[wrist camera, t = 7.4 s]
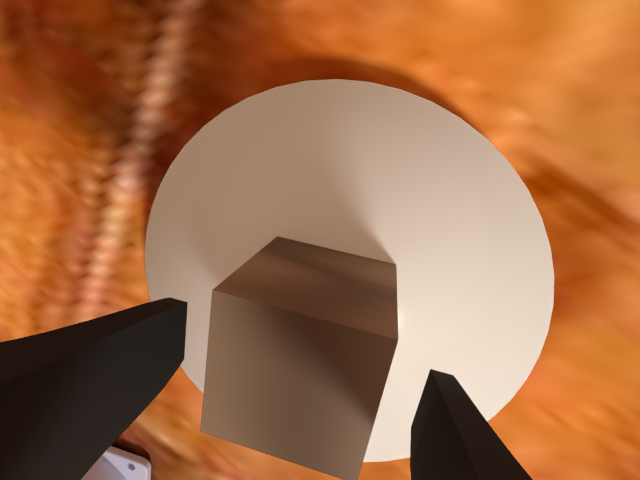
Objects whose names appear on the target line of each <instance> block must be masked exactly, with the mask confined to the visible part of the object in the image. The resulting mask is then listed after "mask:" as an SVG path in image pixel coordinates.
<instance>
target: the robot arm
mask: <svg viewBox="0 0 640 480" xmlns="http://www.w3.org/2000/svg"><path fill="white" fill-rule="evenodd" d="M187 305H188V302H185V301H181V300H177V299H174V298H170V297H169V298H164V299H160V300H156V301H152V302H149V303H145V304H142V305H138V306H135V307H132V308H129V309H125V310H122V311H119V312H116V313H112V314H109V315H106V316H102V317H99V318H96V319H92V320H89V321H85V322H82V323H78V324H74V325H71V326H67V327H63V328H60V329H56V330H52V331H49V332H45V333H41V334H37V335H32V336H28V337H24V338H19V339H15V340H10V341H5V342H0V480H151V464H150V462H149V461H148V460H147V459H146V458H144V457H141V456H138V455H135V454H132V453H129V452H127V451H124V450H121V449H118V448H115V447H113V446H111V445H112V444H113V443H114V442H115V441H116V440H117V438H118V437H119V436H120V435H121V434H122V433H123V432H124V431H125V430H126V429H127V428H128V427H129V426H130V424H131V423H132V422H133V421H134V420H135V419H136V418H137V417H138V416H139V415H140V414H141V413H142V412H143V410H144V409H145V408H146V407H147V406H148V405H149V404H150V403H151V402H152V401H153V399H154V398H155V397H156V396H157V395H158V394H159V393H160V392H161V391H162V389H163V388H164V387H165V386H166V384H167V383H168V381H169V380H170V379H171V377H172V376H173V375H174V373H175V372H176V370H177V369H178V367H179V366H180V365H181V363H182V362H183V360H184V355H185V338H186V322H187ZM410 469H411V480H532V478H531V477H530V476H529V475H528V474H527V472H526V471H525V470H524V469H523V468H522V466H521V465H520V464H519V463H518V461H517V460H516V459H515V458H514V456H513V455H512V454H511V453H510V451H509V450H508V449H507V448H506V446H505V445H504V444H503V442H502V441H501V440H500V438H499V437H498V436H497V434H496V433H495V432H494V430H493V429H492V428H491V426H490V425H489V424H488V422H487V421H486V420H485V418H484V417H483V415H482V414H481V413H480V411H479V410H478V408H477V407H476V406H475V404H474V403H473V401H472V400H471V399H470V397H469V396H468V394H467V393H466V392H465V390H464V389H463V387H462V386H461V385H460V383H459V382H458V381H457V379H456V378H455V377H454V375H451V374H447V373H444V372H440V371H436V370H433V369H430V371H429V374H428V377H427V380H426V383H425V386H424V389H423V392H422V395H421V398H420V401H419V404H418V407H417V410H416V413H415V416H414V419H413V422H412V425H411V443H410Z"/></svg>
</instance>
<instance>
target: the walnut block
mask: <svg viewBox="0 0 640 480" xmlns="http://www.w3.org/2000/svg"><path fill="white" fill-rule="evenodd" d="M397 343H398V305H397V269H396V264H393V263H388V262H384V261H380V260H376V259H371V258H367V257H363V256H359V255H355V254H350V253H346V252H342V251H338V250H333V249H329V248H325V247H321V246H317V245H312V244H308V243H304V242H300V241H295V240H291V239H287V238H283V237H279V236H277V237H276V238H274V239H273V240H272V241H271V242H270V243H268V244H267V245H266V246H265V247H264V248H262V249H261V250H260V251H259V252H257V253H256V254H255V255H254V256H253V257H251V258H250V259H249V260H248V261H247V262H245V263H244V264H243V265H242V266H241V267H239V268H238V269H237V270H236V271H234V272H233V273H232V274H231V275H230V276H228V277H227V278H226V279H225V280H224V281H222V282H221V283H220V284H219V285H218V286H216V287H215V288H214V289H213V290H212V298H211V310H210V322H209V334H208V346H207V358H206V370H205V382H204V394H203V406H202V418H201V430H200V432H203V433H206V434H209V435H212V436H215V437H218V438H221V439H224V440H227V441H230V442H232V443H235V444H238V445H241V446H244V447H247V448H250V449H253V450H256V451H259V452H262V453H265V454H268V455H271V456H274V457H277V458H280V459H283V460H286V461H289V462H292V463H295V464H298V465H301V466H304V467H307V468H310V469H313V470H316V471H319V472H322V473H325V474H328V475H331V476H334V477H337V478H340V479H343V480H358V477H359V474H360V470H361V467H362V464H363V460H364V457H365V453H366V450H367V446H368V443H369V440H370V436H371V433H372V429H373V426H374V422H375V419H376V415H377V412H378V409H379V405H380V402H381V398H382V395H383V391H384V388H385V385H386V381H387V378H388V374H389V371H390V367H391V364H392V360H393V357H394V354H395V350H396V347H397Z"/></svg>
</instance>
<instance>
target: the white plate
mask: <svg viewBox="0 0 640 480" xmlns="http://www.w3.org/2000/svg"><path fill="white" fill-rule="evenodd" d="M277 236H279V237H283V238H287V239H291V240H295V241H300V242H304V243H308V244H312V245H317V246H321V247H325V248H329V249H333V250H338V251H342V252H346V253H350V254H355V255H359V256H363V257H367V258H371V259H376V260H380V261H384V262H388V263H393V264H396V269H397V305H398V343H397V347H396V350H395V354H394V357H393V360H392V364H391V367H390V371H389V374H388V378H387V381H386V385H385V388H384V391H383V395H382V398H381V402H380V405H379V409H378V412H377V415H376V419H375V422H374V426H373V429H372V433H371V436H370V440H369V443H368V446H367V450H366V453H365V457H364V460H363V462H378V461H390V460H397V459H403V458H409V457H410V443H411V425H412V422H413V419H414V416H415V413H416V410H417V407H418V404H419V401H420V398H421V395H422V392H423V389H424V386H425V383H426V380H427V377H428V374H429V371H430V369H433V370H436V371H440V372H444V373H447V374H451V375H454V377H455V378H456V379H457V381H458V382H459V383H460V385H461V386H462V387H463V389H464V390H465V392H466V393H467V394H468V396H469V397H470V399H471V400H472V401H473V403H474V404H475V406H476V407H477V408H478V410H479V411H480V413H481V414H482V415H483V417H484V418H485V420H486V421H488V420H490V419H491V418H492V417H494V416H495V415H496V414H497V413H498V412H499V411H500V410H501V409H502V408H503V407H504V406H505V405H506V404H507V403H508V402H509V401H510V400H511V399H512V398H513V396H514V395H515V394H516V392H517V391H518V390H519V388H520V387H521V386H522V385H523V383H524V382H525V381H526V379H527V378H528V376H529V374H530V372H531V370H532V368H533V367H534V365H535V363H536V361H537V359H538V358H539V355H540V353H541V350H542V347H543V344H544V342H545V339H546V336H547V333H548V330H549V325H550V319H551V314H552V309H553V300H554V271H553V263H552V256H551V248H550V244H549V241H548V237H547V234H546V231H545V227H544V224H543V221H542V217H541V215H540V213H539V211H538V209H537V207H536V205H535V203H534V201H533V199H532V197H531V194H530V192H529V190H528V189H527V187H526V186H525V184H524V183H523V181H522V180H521V178H520V177H519V175H518V174H517V173H516V171H515V170H514V168H513V167H512V165H511V164H510V163H509V161H508V160H507V159H506V158H505V157H504V156H503V155H502V154H501V153H500V152H499V151H498V150H497V149H496V148H495V147H494V145H493V144H492V143H491V142H490V141H489V140H488V139H487V138H486V137H484V136H483V135H482V134H481V133H479V132H478V131H477V130H475V129H474V128H473V127H472V126H470V125H469V124H468V123H467V122H465V121H464V120H463V119H462V118H460V117H458V116H456V115H455V114H453V113H451V112H450V111H448V110H446V109H444V108H443V107H441V106H439V105H437V104H436V103H434V102H432V101H430V100H427V99H424V98H422V97H419V96H417V95H414V94H412V93H409V92H407V91H404V90H402V89H398V88H394V87H389V86H385V85H381V84H377V83H372V82H366V81H355V80H344V79H328V80H310V81H302V82H298V83H293V84H288V85H283V86H278V87H275V88H272V89H269V90H267V91H264V92H261V93H258V94H256V95H253V96H250V97H248V98H246V99H244V100H243V101H241V102H239V103H237V104H235V105H233V106H231V107H230V108H228V109H226V110H224V111H223V112H222V113H220V114H219V115H218V116H216V117H215V118H214V119H212V120H211V121H210V122H208V123H207V124H206V125H204V126H203V127H202V128H201V129H200V130H199V131H198V132H197V133H196V134H195V135H194V136H193V137H192V138H191V139H190V140H189V141H188V142H187V143H186V145H185V146H184V147H183V149H182V150H181V151H180V153H179V154H178V155H177V157H176V158H175V160H174V161H173V162H172V164H171V165H170V167H169V169H168V171H167V173H166V174H165V176H164V178H163V180H162V182H161V184H160V186H159V188H158V191H157V194H156V197H155V199H154V202H153V205H152V208H151V212H150V217H149V221H148V226H147V231H146V243H145V270H146V280H147V286H148V292H149V297H150V301H151V302H152V301H156V300H160V299H164V298H169V297H170V298H174V299H177V300H181V301H185V302H188V305H187V322H186V338H185V355H184V360H183V362H182V363H181V365H180V366H181V367H182V369H183V370H184V372H185V373H186V375H187V376H188V377H189V378H190V379H191V381H192V382H193V383H194V384H195V385H196V386H197V387H198V389H199V390H200V391H201V392H202V393H203V394H204V382H205V370H206V358H207V346H208V334H209V322H210V310H211V298H212V290H213V289H214V288H215V287H216V286H218V285H219V284H220V283H221V282H222V281H224V280H225V279H226V278H227V277H228V276H230V275H231V274H232V273H233V272H234V271H236V270H237V269H238V268H239V267H241V266H242V265H243V264H244V263H245V262H247V261H248V260H249V259H250V258H251V257H253V256H254V255H255V254H256V253H257V252H259V251H260V250H261V249H262V248H264V247H265V246H266V245H267V244H268V243H270V242H271V241H272V240H273V239H274V238H276V237H277Z"/></svg>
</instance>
